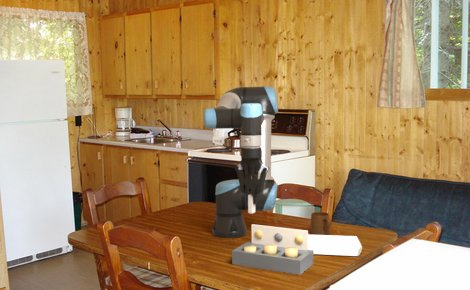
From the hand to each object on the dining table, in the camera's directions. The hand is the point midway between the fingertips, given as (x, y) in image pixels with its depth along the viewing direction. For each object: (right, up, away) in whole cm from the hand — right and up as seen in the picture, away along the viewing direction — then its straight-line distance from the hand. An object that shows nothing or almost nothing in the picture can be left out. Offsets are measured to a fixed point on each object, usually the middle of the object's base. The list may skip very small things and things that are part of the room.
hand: (251, 212), depth 192 cm
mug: (+31, -15, +36) cm, 50 cm away
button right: (+14, -16, -5) cm, 22 cm away
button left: (-1, -17, +2) cm, 17 cm away
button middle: (+7, -16, -2) cm, 17 cm away
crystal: (+30, -18, +13) cm, 37 cm away
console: (+7, -19, 0) cm, 20 cm away
